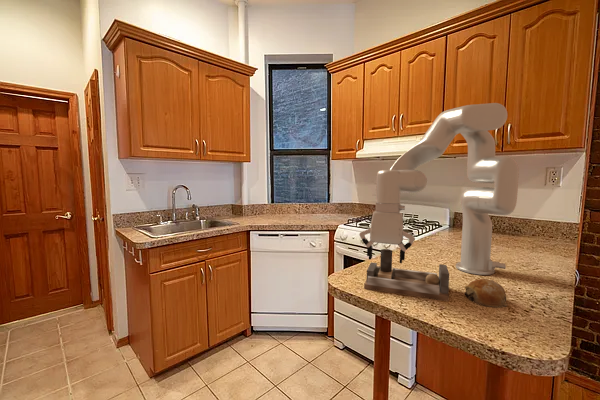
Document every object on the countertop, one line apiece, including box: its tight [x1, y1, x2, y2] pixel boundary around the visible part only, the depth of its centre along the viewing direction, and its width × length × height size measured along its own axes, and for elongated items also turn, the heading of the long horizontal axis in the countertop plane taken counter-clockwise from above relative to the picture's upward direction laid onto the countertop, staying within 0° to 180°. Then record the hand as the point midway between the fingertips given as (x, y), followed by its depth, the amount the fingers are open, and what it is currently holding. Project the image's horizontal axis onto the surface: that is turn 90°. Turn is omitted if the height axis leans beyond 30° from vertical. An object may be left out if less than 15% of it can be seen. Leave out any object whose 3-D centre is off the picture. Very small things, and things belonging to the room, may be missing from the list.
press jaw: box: [378, 248, 395, 279], centre depth 93 cm, size 5×9×10 cm, turn 158°
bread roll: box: [463, 278, 508, 308], centre depth 82 cm, size 10×10×8 cm
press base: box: [363, 262, 450, 302], centre depth 91 cm, size 24×12×8 cm, turn 68°
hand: (385, 260), depth 93 cm, fingers open, 9 cm apart
